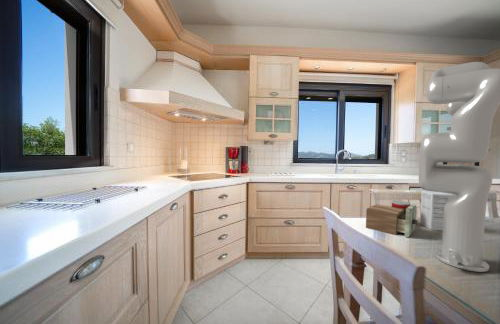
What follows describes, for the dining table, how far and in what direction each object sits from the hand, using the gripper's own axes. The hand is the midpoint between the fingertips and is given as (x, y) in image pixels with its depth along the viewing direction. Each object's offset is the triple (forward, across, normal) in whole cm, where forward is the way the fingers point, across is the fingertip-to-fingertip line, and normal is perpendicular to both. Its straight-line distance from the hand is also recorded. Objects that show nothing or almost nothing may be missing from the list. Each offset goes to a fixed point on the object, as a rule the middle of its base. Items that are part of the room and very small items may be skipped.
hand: (460, 167), depth 98 cm
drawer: (+29, -18, -19) cm, 39 cm away
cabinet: (+30, -23, -19) cm, 43 cm away
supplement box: (+30, -7, 0) cm, 31 cm away
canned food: (+30, -20, -7) cm, 37 cm away
